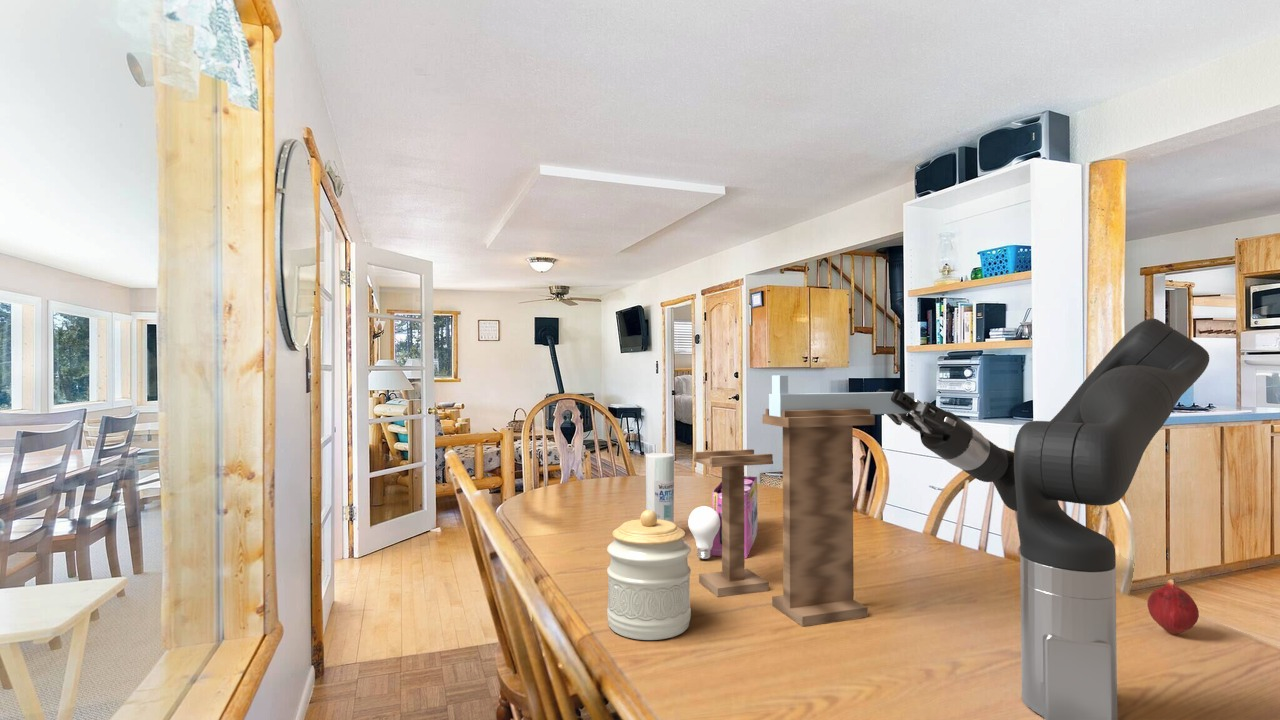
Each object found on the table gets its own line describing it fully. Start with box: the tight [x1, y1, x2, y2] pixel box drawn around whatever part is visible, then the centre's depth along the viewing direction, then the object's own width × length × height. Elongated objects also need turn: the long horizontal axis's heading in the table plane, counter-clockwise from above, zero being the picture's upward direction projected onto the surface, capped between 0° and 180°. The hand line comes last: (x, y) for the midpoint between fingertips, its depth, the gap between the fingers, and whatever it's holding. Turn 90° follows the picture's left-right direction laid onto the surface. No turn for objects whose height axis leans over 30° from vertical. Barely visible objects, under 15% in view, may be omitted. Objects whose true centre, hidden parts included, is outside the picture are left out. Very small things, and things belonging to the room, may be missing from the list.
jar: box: [606, 509, 692, 641], centre depth 98 cm, size 13×13×18 cm
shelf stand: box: [761, 408, 876, 627], centre depth 103 cm, size 16×9×33 cm, turn 108°
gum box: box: [711, 475, 759, 559], centre depth 143 cm, size 24×8×14 cm, turn 164°
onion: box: [1147, 578, 1200, 635], centre depth 94 cm, size 6×6×8 cm
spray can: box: [645, 452, 675, 524], centre depth 144 cm, size 6×6×20 cm
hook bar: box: [768, 374, 915, 417], centre depth 105 cm, size 26×4×6 cm, turn 108°
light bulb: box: [687, 505, 720, 561], centre depth 131 cm, size 7×7×11 cm
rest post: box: [693, 449, 774, 598], centre depth 115 cm, size 12×8×24 cm, turn 108°
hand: (886, 394), depth 108 cm, fingers closed on hook bar, 3 cm apart
